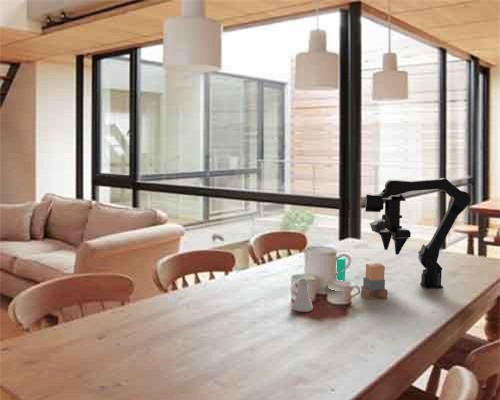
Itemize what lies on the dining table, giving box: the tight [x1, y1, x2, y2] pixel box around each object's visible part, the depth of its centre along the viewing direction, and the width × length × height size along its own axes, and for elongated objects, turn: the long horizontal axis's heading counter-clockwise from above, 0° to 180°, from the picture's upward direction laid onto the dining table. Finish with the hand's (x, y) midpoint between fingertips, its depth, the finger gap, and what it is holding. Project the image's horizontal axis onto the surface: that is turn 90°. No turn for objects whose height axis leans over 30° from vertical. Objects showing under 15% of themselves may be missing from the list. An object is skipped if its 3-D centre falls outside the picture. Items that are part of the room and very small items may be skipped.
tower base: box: [360, 285, 388, 301], centre depth 196 cm, size 7×7×4 cm
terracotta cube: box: [365, 262, 386, 281], centre depth 195 cm, size 5×5×5 cm
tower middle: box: [362, 276, 386, 291], centre depth 196 cm, size 6×6×4 cm
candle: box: [337, 256, 347, 282], centre depth 212 cm, size 6×6×12 cm
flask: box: [291, 278, 314, 313], centre depth 181 cm, size 7×7×10 cm
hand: (391, 252), depth 211 cm, fingers open, 9 cm apart
